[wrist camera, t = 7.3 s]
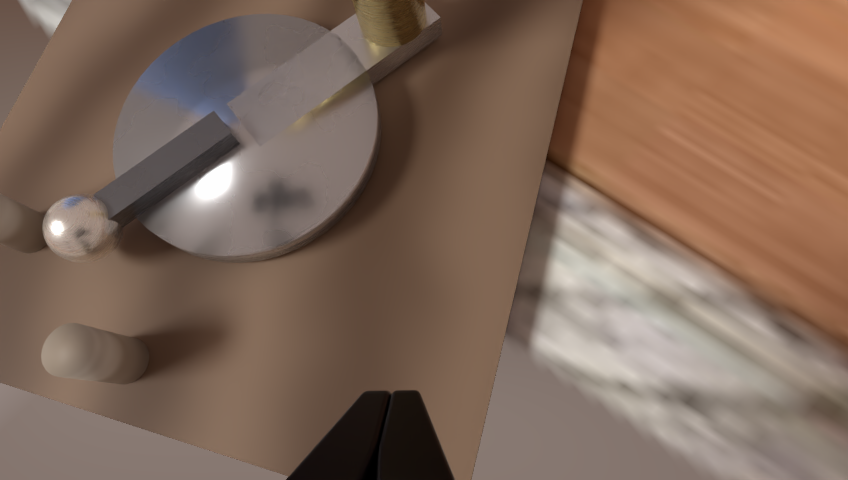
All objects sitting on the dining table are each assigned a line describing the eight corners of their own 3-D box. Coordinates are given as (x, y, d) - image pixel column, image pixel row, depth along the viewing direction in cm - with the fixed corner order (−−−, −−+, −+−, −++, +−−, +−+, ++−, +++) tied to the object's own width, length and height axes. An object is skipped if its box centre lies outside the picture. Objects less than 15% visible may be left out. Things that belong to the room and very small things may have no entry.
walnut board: (587, -20, 24) (607, -104, 20) (460, 525, 18) (455, 552, 14) (141, -84, 28) (87, -165, 24) (-94, 347, 21) (-216, 330, 18)
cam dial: (144, 369, 19) (-354, 283, 8) (27, 167, 22) (-452, -108, 11) (505, 96, 21) (534, -291, 10) (352, -54, 24) (239, -481, 13)
